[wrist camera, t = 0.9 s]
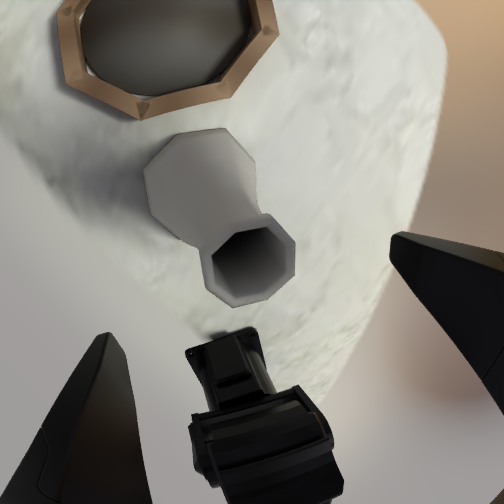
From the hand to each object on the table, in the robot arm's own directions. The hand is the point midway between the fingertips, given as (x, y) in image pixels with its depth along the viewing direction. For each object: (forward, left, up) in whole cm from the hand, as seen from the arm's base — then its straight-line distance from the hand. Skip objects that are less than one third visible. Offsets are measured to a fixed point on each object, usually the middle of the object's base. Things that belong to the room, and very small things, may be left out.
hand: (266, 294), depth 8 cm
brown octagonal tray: (+11, 0, -11) cm, 16 cm away
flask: (0, 0, -12) cm, 12 cm away
